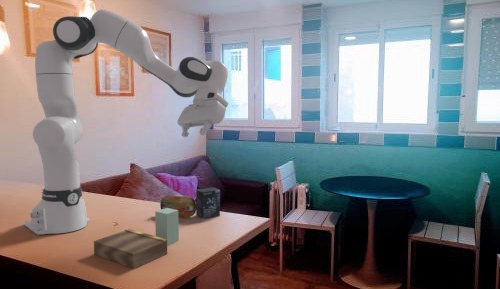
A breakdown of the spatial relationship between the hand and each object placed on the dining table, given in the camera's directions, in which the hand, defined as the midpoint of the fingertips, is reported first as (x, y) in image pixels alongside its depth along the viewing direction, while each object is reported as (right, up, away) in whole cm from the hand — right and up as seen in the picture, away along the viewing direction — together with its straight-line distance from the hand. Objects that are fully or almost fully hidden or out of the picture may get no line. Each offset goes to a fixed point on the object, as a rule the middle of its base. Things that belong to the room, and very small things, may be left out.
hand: (193, 135), depth 126 cm
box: (+3, -31, +19) cm, 37 cm away
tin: (-8, -31, +18) cm, 37 cm away
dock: (-15, -35, -19) cm, 42 cm away
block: (-7, -34, -9) cm, 36 cm away
